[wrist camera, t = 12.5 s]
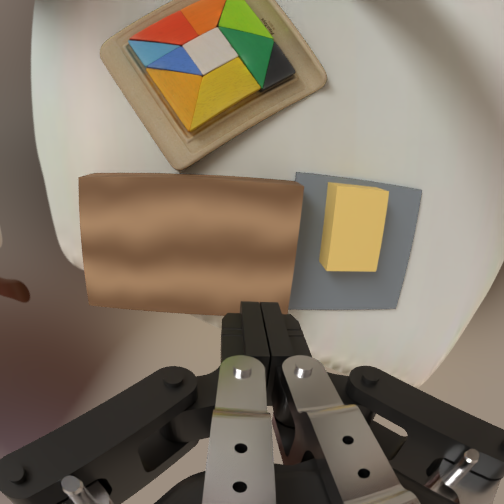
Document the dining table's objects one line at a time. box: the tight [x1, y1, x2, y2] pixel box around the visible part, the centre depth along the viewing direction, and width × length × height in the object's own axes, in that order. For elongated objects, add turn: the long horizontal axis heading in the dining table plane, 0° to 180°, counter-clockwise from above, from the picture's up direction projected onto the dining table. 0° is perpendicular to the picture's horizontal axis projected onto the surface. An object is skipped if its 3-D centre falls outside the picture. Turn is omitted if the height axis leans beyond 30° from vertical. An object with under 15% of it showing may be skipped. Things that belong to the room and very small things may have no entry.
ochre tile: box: [319, 182, 389, 272], centre depth 33 cm, size 9×6×3 cm, turn 177°
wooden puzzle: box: [100, 0, 327, 170], centre depth 27 cm, size 18×19×4 cm
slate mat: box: [288, 172, 422, 310], centre depth 36 cm, size 16×16×1 cm
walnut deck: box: [79, 173, 304, 316], centre depth 32 cm, size 14×22×4 cm, turn 85°
